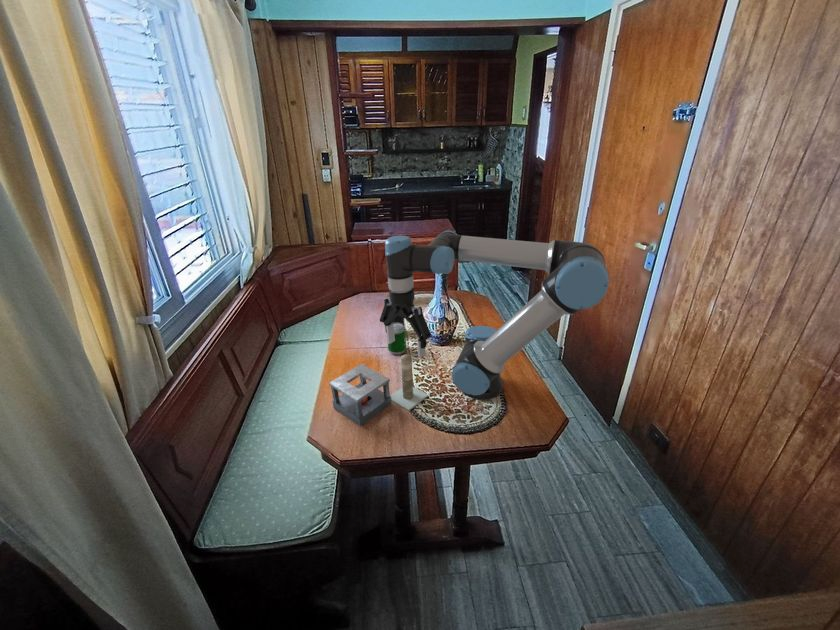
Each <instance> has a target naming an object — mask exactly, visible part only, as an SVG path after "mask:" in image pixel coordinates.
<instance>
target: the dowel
mask: <svg viewBox="0 0 840 630" xmlns="http://www.w3.org/2000/svg"><path fill="white" fill-rule="evenodd" d="M400 366H401V368H400V370H401V383H402V384H401V386H402V387H401V388H403V398H404V399H411V398H413V387H414V381H413V380H414V379H413V357H412V355H410V354H403V355H402V354H401V356H400Z"/></svg>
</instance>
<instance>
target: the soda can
mask: <svg viewBox="0 0 840 630" xmlns="http://www.w3.org/2000/svg"><path fill="white" fill-rule="evenodd" d="M393 324H394V334H395V341H394V342H392V343H391V344H388V343H387V348H388V352H389V353H391V354H392V355H395V356H400V355H402V354H403V353H405V352H406V350H407V338H406V337H407V335H406V327H405V324H404V325H402V324H401V323H393Z"/></svg>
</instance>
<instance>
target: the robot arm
mask: <svg viewBox="0 0 840 630" xmlns="http://www.w3.org/2000/svg"><path fill="white" fill-rule="evenodd" d="M384 248H385V251H384V254H385V255H384V256H385V263H386V269H387V283H388V284H387V285H388V289H389V290H388V295H389V296H390V297H389V298H385V299H384V305H383V309H382V311H381V315H380V317H379V322H380V323H383V325H384V328H385V333H386V339H387V340H386V342H387V345H388V344H391V343H392V342H394V341H395V334H394V324H393V323H391V322H392V321H393V320H394V319H395V317H396V316H397V315H398V316H400V317H403V318H404V320H406V321H407V322H408V323H409V324H410V326H411V328H412V329H413V331H414V333H415V334H416V336H417V339H416V347H417V358H419V359H421V358H422V357H423V356H425V355H426V353H427V352H426V348H427V340H428V339H431V337H432V333H431V330H430V329H429V326H428V324H427V321H426V318H425V316H424V314H423V308H422V306H418V307H415V306H414V301H415V288H414V285H415V284H414V283H415V282H414V272H415V273H425V274H427V273H428V274H435V275H447V274H451V272H452V271H453V267H454V265H455V261H464V262H471V263H472V262H473V263H482V264H490V265H497V266H498V265H500V266H507V267H515V268H524V269H525V268H526V269H531V270H541V271H545V272H546V273H547V274H548V276H546V277H545V278H544V279H543V280H542V282H541V290H540V291H539V292H538V293H537V294H536V295H534V296H533V297H532V298H531V299H530V300H529V301H528V302H527V303H526V304H524V305H523V306H522V307H521V308H520V309H519V310H518V311H516V313H514V314H513V315H512V316H511V317H510V318H509V319H507V321H506V322H504V323H503V324H502V325H501V326H500V327H499V328H498V329H496V328H495V327H491V326H487V325H475V326H470V327H468V328H467V329H466V330H465V333H464V338H465V339H464V345H463V347H462V349H461V351H460V353H459V356H458V358H457V360H456V362H455V364H454V365H453V367H452V371H451V379H452V383H453V384H454V386H455V387H456V388H457V389H458V390H459V391H460V392H462V393H463V394H464V395H465V396H467V397H469V398H471V399H474V400H475V399H476V400H483V401H484V400H491V399H494V398H496V397H498V396H499V395H500V394H501V393H502V390H503V380H502V377H501V373H503V371H504V370H505V367H506V366H505V363H507V362H508V361H509V360H510V359H511V358H513V357H514V356H516V354H518V353H519V352H521V350H522V349H524V348H525V347H526V346H527V345H529V344H530V343H531V342H532V341H533V340H535V339H536V338H537V337H538V336H540V335H541V334H542V333H543V332H545V331H546V330H547V329H548V328H549V327H551V326H552V325H553V324H554V323H556V322H557V321H558V320H559V319H561V318H562V317H563V316H564V315H569V316H574V315H575V314H576V313H578V312H579V311H581V310H586V309H590V308H592V307H594V306H596V305H597V304H599V303H600V302H601V301H602V300H603V299H604V298H605V296H606V293H608V292H607V291H608V289H609V282H610V275H609V272H608V269H607V266H606V260H605V255H604V254H603V253H602V252H601V250H600V249H599V248H597V247H596V246H594V245H592V244H590V243H586V242H580V241H568V240H560V239H558V240H557V239H553V240H552V241H550V242H549V243H548V242H538V241H530V240H529V241H526V240H517V239H515V240H514V239H504V238H494V237H483V236H482V237H481V236H470V235H462V234H461V235H459V234H457V232H455V231H452V230H445V231H443V232H440V233H439V234H437V235H436V236H435V238H434V239H433V240H432V241H431V242H429V244H427V245H418V244H412V239H411V237H409V236H408V235H407V236H406V235H394V236H390V237H388V238H387V239H386V240H385V242H384ZM392 306H393V310H392V312H391V314H390V315H389V313H390V310H391V307H392Z"/></svg>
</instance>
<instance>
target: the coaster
mask: <svg viewBox="0 0 840 630" xmlns="http://www.w3.org/2000/svg"><path fill="white" fill-rule="evenodd" d="M390 396H391V400H392V403H394V404H396V405H398V406H400V407H401V408H403V409H405V410H406V411H408V412H410V411H411V410H413V409H414V407H416V406H418V405H419V404H420V403H421V402H422V401H424V400H425V399H426V398H428V397H429V394H428V393H426V392H424V391H422V390H421V389H418V387H415V386H413V398H411V399H404V398H403V388H402V387H400V388H399V389H398V390H396V391H395V392H393V393H392V394H390Z"/></svg>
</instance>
